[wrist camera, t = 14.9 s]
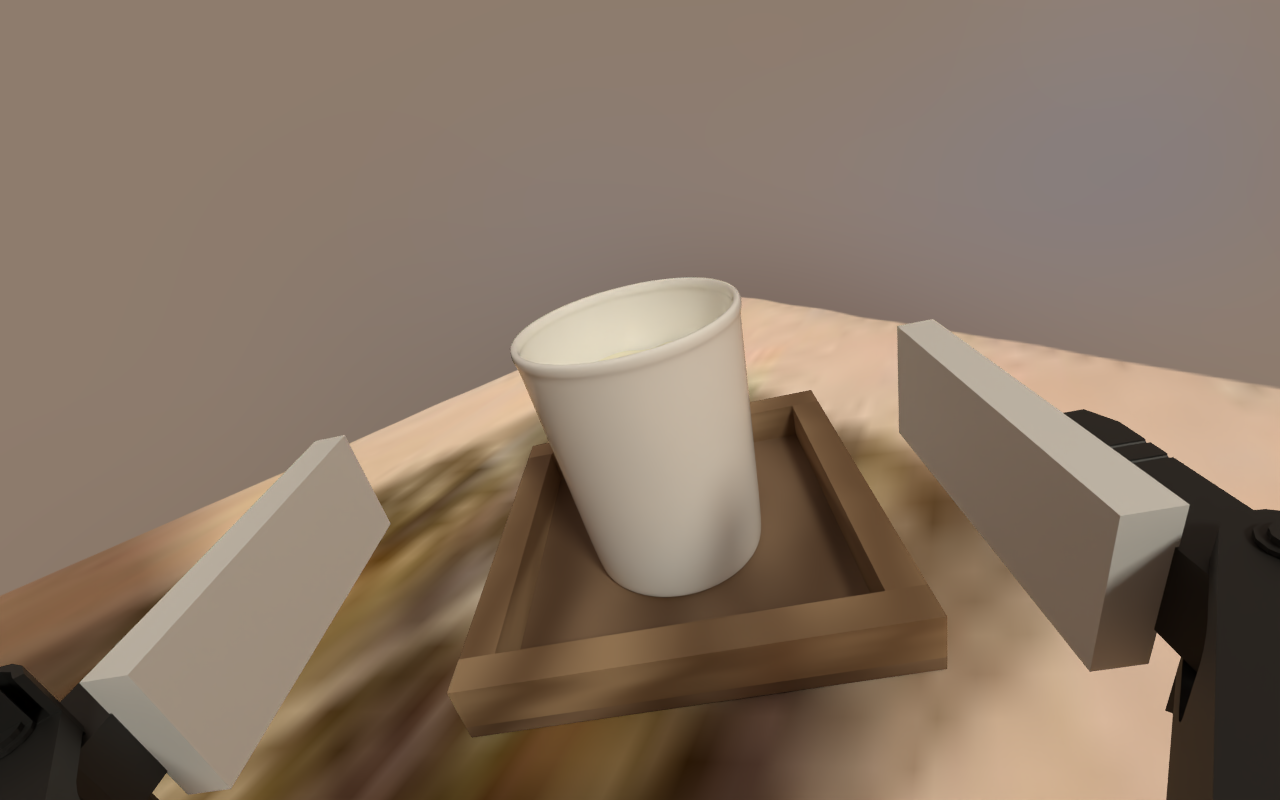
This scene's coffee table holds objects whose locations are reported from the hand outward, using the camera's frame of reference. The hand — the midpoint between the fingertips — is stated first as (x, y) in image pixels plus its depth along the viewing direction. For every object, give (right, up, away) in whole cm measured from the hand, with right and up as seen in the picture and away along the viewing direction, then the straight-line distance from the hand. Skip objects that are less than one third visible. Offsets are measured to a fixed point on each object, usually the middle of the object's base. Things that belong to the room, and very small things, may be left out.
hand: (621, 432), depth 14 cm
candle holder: (+2, -6, +16) cm, 17 cm away
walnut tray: (+3, -7, +16) cm, 17 cm away
